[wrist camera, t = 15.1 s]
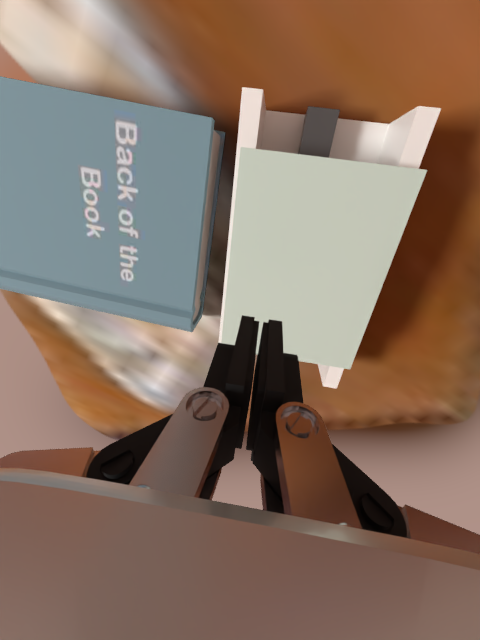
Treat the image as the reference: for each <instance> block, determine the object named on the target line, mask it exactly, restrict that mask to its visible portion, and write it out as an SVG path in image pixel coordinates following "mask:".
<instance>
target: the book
mask: <svg viewBox="0 0 480 640" xmlns="http://www.w3.org/2000/svg"><path fill="white" fill-rule="evenodd" d="M214 122H215V120H214V119H213V118H211V117H206V116H201V115H195V114H190V113H185V112H180V111H175V110H170V109H165V108H160V107H154V106H149V105H144V104H139V103H134V102H129V101H124V100H119V99H113V98H108V97H103V96H98V95H93V94H88V93H83V92H77V91H72V90H67V89H62V88H57V87H52V86H47V85H42V84H36V83H31V82H26V81H21V80H16V79H10V78H5V77H1V76H0V289H4V290H8V291H13V292H17V293H22V294H26V295H31V296H35V297H39V298H44V299H48V300H53V301H57V302H61V303H66V304H70V305H75V306H79V307H84V308H88V309H92V310H97V311H101V312H106V313H110V314H115V315H119V316H123V317H128V318H132V319H137V320H141V321H145V322H150V323H154V324H159V325H163V326H168V327H172V328H176V329H181V330H185V331H190V332H193V330H194V328H195V327H196V325H197V323H198V322H199V320H200V319H201V317H202V313H203V307H204V299H205V291H206V283H207V276H208V268H209V260H210V252H211V244H212V236H213V228H214V220H215V212H216V204H217V197H218V189H219V181H220V173H221V165H222V157H223V149H224V141H225V132H221V131H216V130H214Z"/></svg>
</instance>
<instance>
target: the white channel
mask: <svg viewBox="0 0 480 640" xmlns="http://www.w3.org/2000/svg"><path fill="white" fill-rule="evenodd" d="M440 110H441V108H433V107H423V106H418V107H416V108H414V109H413V110H411V111H410V112H408V113H406V114H405V115H403V116H401V117H400V118H398V119H397V120H395V121H393V122H392V123H390V124H384V123H375V122H366V121H357V120H348V119H339V118H338V116H339V112H340V110H337V109H328V108H319V107H310V106H308V109H307V111H306V114H305V115H303V114H294V113H285V112H276V111H267V110H266V107H265V99H264V92H263V89H254V88H245V87H242V97H241V107H240V118H239V129H238V140H237V150H236V161H235V172H234V183H233V193H232V204H231V215H230V226H229V236H228V247H227V258H226V268H225V279H224V290H223V301H222V311H221V322H220V333H219V343H221V341H222V331H223V320H224V310H225V300H226V290H227V280H228V270H229V260H230V250H231V239H232V229H233V219H234V209H235V199H236V189H237V179H238V168H239V158H240V148H241V147H245V148H253V149H261V150H269V151H278V152H286V153H294V154H302V155H310V156H318V157H326V158H334V159H342V160H351V161H359V162H367V163H375V164H383V165H391V166H399V167H407V168H415V169H419V166H420V164H421V161H422V158H423V156H424V153H425V150H426V148H427V145H428V142H429V140H430V137H431V134H432V131H433V129H434V126H435V123H436V121H437V118H438V115H439V113H440ZM318 367H319V371H320V375H321V380H322V384H323V386H325V387H331V388H336V389H337V386H338V383H339V381H340V378H341V375H342V373H343V370H344V368H339V367H333V366H327V365H320V364H318Z"/></svg>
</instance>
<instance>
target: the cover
mask: <svg viewBox="0 0 480 640" xmlns="http://www.w3.org/2000/svg"><path fill="white" fill-rule="evenodd" d="M426 172H427V170H424V169H415V168H407V167H399V166H391V165H383V164H375V163H367V162H359V161H351V160H342V159H334V158H326V157H318V156H310V155H302V154H294V153H286V152H278V151H269V150H261V149H253V148H245V147H241V148H240V158H239V168H238V179H237V189H236V199H235V209H234V219H233V229H232V239H231V250H230V260H229V270H228V280H227V290H226V300H225V310H224V320H223V331H222V341H221V343H223V344H230V345H235V342H236V338H237V334H238V330H239V325H240V321H241V317H242V315H243V316H250V317H255V319H254V321H259V329H258V338H257V347H256V354H258V350H259V344H260V339H261V333H262V327H263V322H267V323H268V321H269V319H270V320H277V321H282V327H283V353H288V354H294V355H297V356H298V361H302V362H308V363H314V364H320V365H327V366H333V367H339V368H345V369H350V368H351V366H352V363H353V361H354V358H355V355H356V353H357V350H358V348H359V345H360V343H361V340H362V337H363V335H364V332H365V330H366V327H367V324H368V322H369V319H370V317H371V314H372V312H373V309H374V306H375V304H376V301H377V299H378V296H379V294H380V291H381V288H382V286H383V283H384V281H385V278H386V275H387V273H388V270H389V268H390V265H391V263H392V260H393V257H394V255H395V252H396V250H397V247H398V244H399V242H400V239H401V237H402V234H403V232H404V229H405V226H406V224H407V221H408V219H409V216H410V214H411V211H412V208H413V206H414V203H415V201H416V198H417V195H418V193H419V190H420V188H421V185H422V183H423V180H424V177H425V175H426Z"/></svg>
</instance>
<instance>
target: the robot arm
mask: <svg viewBox="0 0 480 640" xmlns="http://www.w3.org/2000/svg"><path fill="white" fill-rule="evenodd" d="M254 319H255V317H250V316H243V315H242V317H241V321H240V325H239V330H238V334H237V338H236V342H235V345H230V344H223V343H218V345H217V348H216V351H215V354H214V357H213V360H212V363H211V366H210V369H209V372H208V375H207V378H206V381H205V384H204V387H202V388H197V389H194V390H192V391H190V392H189V393H187V394H186V395H185V397H184V398H183V399H182V401H181V402H180V404H179V405H178V407H177V409H176V410H175V412H174V413H173V414H172V415H170V416H168V417H165V418H163V419H161V420H159V421H157V422H155V423H153V424H151V425H149V426H147V427H145V428H143V429H141V430H139V431H137V432H135V433H133V434H131V435H129V436H126V437H124V438H122V439H120V440H118V441H116V442H114V443H112V444H110V445H109V446H107V447H105V448H104V449H102V450H101V451H94V450H93V448H71V449H50V450H30V451H19V452H14V453H11V454H9V455H6V456H4V457H2V458H0V640H480V535H478V534H476V533H474V532H471V531H469V530H466V529H464V528H462V527H459V526H457V525H454V524H452V523H449V522H447V521H444V520H442V519H440V518H437V517H435V516H432V515H429V514H427V513H425V512H423V511H420V510H418V509H415V508H413V507H410V506H408V505H405V506H404V507H403V508H402V507H400V506H398V505H397V504H396V503H395V502H394V501H393V500H392V499H391V497H390V496H388V495H387V494H386V493H385V492H384V491H383V490H382V489H381V488H380V487H379V486H378V485H377V484H376V483H375V482H373V481H372V480H371V479H370V478H369V477H368V476H367V475H366V474H365V473H364V472H362V471H361V470H360V469H359V468H358V467H357V466H356V465H355V464H354V463H353V462H351V461H350V460H349V459H348V458H347V457H346V456H345V455H344V454H343V453H342V452H340V451H339V450H338V449H337V448H336V447H335V446H334V445H333V444H332V443H331V440H330V438H329V435H328V432H327V429H326V426H325V424H324V421H323V419H322V417H321V416H320V415H319V414H318V412H317V411H316V410H314V409H313V408H312V407H310V406H308V405H306V404H303V397H302V388H301V379H300V370H299V362H298V356H297V355H294V354H288V353H283V327H282V321H277V320H270V319H269V321H268V323H267V322H263V327H262V333H261V339H260V344H259V350H258V356H257V362H256V368H255V374H254V382H253V373H254V364H255V355H256V347H257V338H258V329H259V321H254ZM252 382H253V391H252V400H251V409H250V418H249V427H248V437H247V446H246V449H247V450H251V451H252V454H251V461H253V464H254V465H255V466H256V468H257V469H258V470H259V471H260V473H261V477H260V483H261V494H262V505H263V510H259V509H254V508H248V507H243V506H238V505H233V504H227V503H221V502H217V501H212V498H213V495H214V492H215V489H216V486H217V483H218V480H219V477H220V474H221V470H222V467H223V466H225V465H226V464H228V463H229V462H230V461H232V460H233V459H234V453H235V448H240V449H241V448H242V442H243V436H244V430H245V424H246V419H247V413H248V407H249V401H250V395H251V389H252Z"/></svg>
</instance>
